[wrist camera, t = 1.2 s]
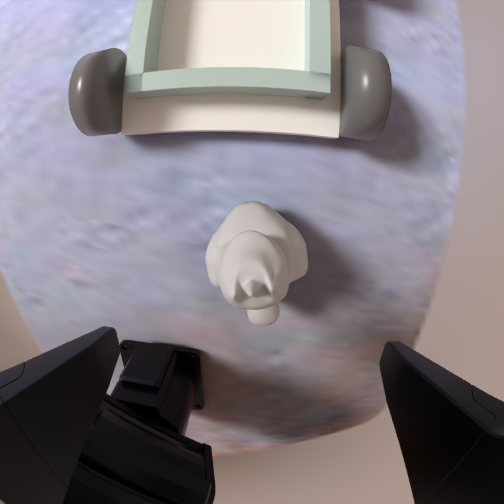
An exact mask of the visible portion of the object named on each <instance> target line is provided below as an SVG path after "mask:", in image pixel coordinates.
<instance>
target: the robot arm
mask: <svg viewBox="0 0 504 504" xmlns="http://www.w3.org/2000/svg"><path fill="white" fill-rule="evenodd" d="M125 346H126V347H127V348H126V347H125ZM120 353H121V357H122V361H123V365H124V369H123V371H122V373H121V375H120V377H119V378H120V379H119V381H118V382H117V384H116V386H115V388H114V390H113V391H112V393H111V395H108V394H107V393H106V392H107V390H108V387H109V384H110V381H111V378H112V375H113V372H114V369H115V366H116V363H117V360H118V357H119V354H120ZM192 355H195V356H196V357H193V356H192ZM380 371H381V376H382V381H383V386H384V391H385V396H386V400H387V404H388V408H389V411H390V414H391V417H392V421H393V424H394V427H395V430H396V434H397V437H398V440H399V444H400V448H401V451H402V455H403V458H404V462H405V466H406V470H407V474H408V478H409V481H410V485H411V490H412V494H413V498H414V503H415V504H504V402H503V401H501V400H499V399H497V398H495V397H493V396H491V395H489V394H487V393H485V392H484V391H482V390H480V389H479V388H477V387H475V386H474V385H471V384H470V383H468V382H467V381H465V380H463V379H462V378H460V377H458V376H456V375H455V374H453V373H451V372H449V371H448V370H446V369H445V368H443V367H441V366H440V365H438V364H436V363H434V362H433V361H431V360H430V359H428V358H426V357H424V356H423V355H421V354H419V353H418V352H416V351H414V350H413V349H411V348H409V347H408V346H406V345H404V344H403V343H401V342H399V341H388V342H387V343H386V344H385V347H384V350H383V353H382V356H381V359H380ZM198 404H199V405H198ZM204 405H205V401H204V389H203V377H202V363H201V354H200V352H199V351H198V350H195V349H188V348H179V347H170V346H162V345H155V344H147V343H141V342H134V341H128V340H123V341H122V342H121V343H120V345H119V342H118V337H117V332H116V330H115V329H114V328H113V327H106V326H103V327H101V328H99V329H96V330H94V331H92V332H90V333H88V334H85V335H83V336H81V337H79V338H76V339H74V340H72V341H70V342H68V343H65V344H63V345H61V346H59V347H57V348H54V349H52V350H50V351H48V352H45V353H43V354H41V355H39V356H37V357H34V358H32V359H30V360H28V361H26V362H23V363H21V364H18V365H16V366H14V367H12V368H9V369H7V370H4V371H2V372H0V504H213V501H214V497H215V478H214V470H213V459H212V449H211V446H209V445H207V444H205V443H203V444H202V443H199V442H197V441H195V440H192V439H190V438H188V437H186V436H185V433H186V429H187V425H188V421H189V417H190V413H191V409H196V410H202V409H203V408H204Z"/></svg>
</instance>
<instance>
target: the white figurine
mask: <svg viewBox="0 0 504 504" xmlns="http://www.w3.org/2000/svg"><path fill="white" fill-rule="evenodd" d="M205 261H206V266H207V271H208V276H209V279H210V281H211V283H212V284H213V285H214V286H215V287H218V288H221V290H222V293H223V295H224V297H225V298H226V300H227V301H228V302H229V303H230V304H232V305H233V306H236V307H238V308H242V309H247V314H248V317H249V320H250V321H251V322H252V323H254V324H256V325H261V326H263V325H269V324H272V323H274V322H275V321H276V320H277V319H278V317H279V302H280V301H281V300H282V299H283V298H284V297H285V295H286V294H287V291H288V288H289V284H290V283H291V282H293V281H295V280H297V279H299V278H301V277H303V276H304V275H305V274H306V272H307V269H308V257H307V247H306V243H305V241H304V239H303V237H302V236H301V234H300V232H299V231H298V230H297V228H296V227H295V226H294V225H292V224H291V223H290V222H288V221H286V220H285V219H284V218H283V217H282V216H281V215H280V214H279V213H277V212H276V211H275V210H274V209H272V208H271V207H269V206H268V205H266V204H264V203H261V202H256V201H253V202H246V203H241V204H239V205H238V206H236V207H235V208H234V209H232V211H231V212H230V213H229V215H228V216H227V217H226V219H225V220H224V222H223V223H222V224H221V226H220V228H219V229H218V231H216V232H215V234H214V235H213V236H212V238H211V240H210V242H209V245H208V248H207V251H206V256H205Z"/></svg>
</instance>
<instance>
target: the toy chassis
mask: <svg viewBox="0 0 504 504" xmlns="http://www.w3.org/2000/svg"><path fill="white" fill-rule="evenodd" d="M391 92H392V83H391V73H390V68H389V64H388V62H387V59H386V57H385V56H384V55H383V53H381V52H379V51H376V50H371V49H367V48H362V47H357V46H352V45H348V46H347V47H346V48H345V49H344V50H343V52H342V54H341V42H340V11H339V0H136V4H135V9H134V14H133V20H132V26H131V32H130V39H129V46H128V53H127V56H126V55H125V54H124V53H123V52H122V51H121V50H120V49H117V48H111V49H107V50H102V51H98V52H94V53H90V54H87V55H85V56H83V57H82V58H81V59H80V60H79V61H78V63H77V64H76V66H75V68H74V70H73V72H72V75H71V79H70V84H69V106H70V111H71V115H72V118H73V120H74V122H75V124H76V126H77V127H78V129H79V130H80V131H81V132H82V133H84V134H85V135H87V136H98V135H107V134H116V133H119V132H121V131H122V133H121V134H124V135H140V134H156V133H178V132H246V133H269V134H285V135H298V136H309V137H320V138H329V139H335V138H339V135H340V136H341V137H347V138H354V139H361V140H368V141H373V140H375V139H376V138H377V137H378V136H379V135H380V133H381V132H382V130H383V128H384V126H385V123H386V120H387V117H388V113H389V109H390V103H391Z"/></svg>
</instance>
